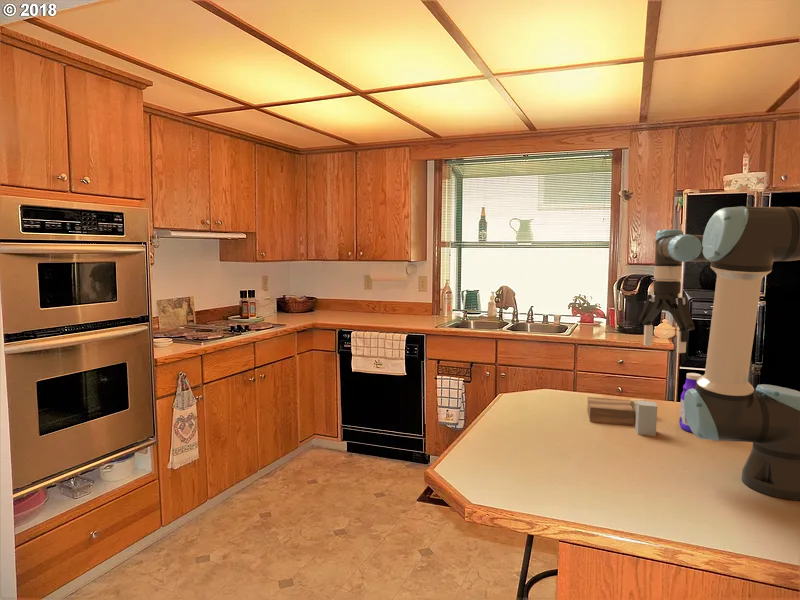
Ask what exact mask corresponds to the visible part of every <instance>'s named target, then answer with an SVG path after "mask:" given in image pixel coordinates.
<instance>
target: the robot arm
mask: <svg viewBox="0 0 800 600" xmlns="http://www.w3.org/2000/svg"><path fill="white" fill-rule="evenodd" d="M654 245H655V250H654V251H655V252H654V269H653V278H654V281H653V289H652V290H653V293H655V294H647V295H646V301H645V304H644V305H643V308H642V311H641V313H640V315H639V318H638V322H639V323H641V324H642V325H643V329H642V330H643V331H642V334H643V346H647V347H649V346H653V336H654V335H653V333H654V325H653V322H654V320H655V319H656V318H657V317H658V316H659V314H660V312H661V311H664V312H668V313H670V315H671V316H672V318H673V319H674V321H675V324H676V325H677V327H678V328H679V329H678V330H677V333H676V334H677V337H676V339H677V340H676V353H677V354H684V353H685V354H686V352H687V343H688V341H689V332H690V331H694V330H695V329H696V327H695V324H694V321H693V318H692V315H691V312H690V308H689V305H688V297H679V294H680V293H681V289H682V286H681V285H682V282H681V281H680V280H681V279H682V266H683V265H682V264H683V263H687V262H705V263H706V262H710V265H709V267H710V269H711V270H712V271H714V273H716V279H715V280H716V281H715V288H714V289H715V290H714V296H713V297H714V298H713V305H712V314H711V322H710V328H709V339H708V344H707V345H708V346H707V355H706V362H705V363H706V364H705V370H704V374H702V375H701V377H699V378H698V379H697V382H696V389H694V388H692V389H689V390H687V391H686V393H685V397H684V408H685V414H686V418H687V422H688V425H689V427H690V429H691V431H692V432H691V433H692V434H693V435H694V436H695V437H697V438H698V439H699V440H708V441H714V442H719V441H720V442H721V441H722V442H738V443H739V442H741V443H752V448H751V450H750V453H749V455H748V457H747V459H746V461H745V463H744V465H743V467H742V469H741V470H742V471H741V481H742V482H743V484H744V485H746V486H747V487H749V488H751V489H752V490H755V491H756V492H759V493H762V494H765V495H768V496H772V497H776V498H780V499H786V500H791V501H800V391H799V390H796V389H792V388H788V387H782V386H779V385H773V384H765V383H764V384H763V383H762V384H757V386H756V387H755V388H754V387H753V385H752V384H751V383H750V382H749V381H748V380H749V375H750V374H749V373H750V367H751V366H750V365H751V357H752V351H753V345H754V340H755V339H754V338H755V332H756V331H755V330H756V324H757V318H758V312H759V311H758V310H759V303H760V295H761V289H762V281H763V278H764V277H766V276H767V275H768V274H770V273H771V272H772V271H773V264H774V262H793V261H799V260H800V207H797V206H744V205H741V206H732V207H723V208H720V209H718V210H717V211H715V212H714V213H713V215H712V216H711V217H710V218H709V220H708V222H707V223H706V226H705V229H704V232H703V235H702V234H701V235H700V234H689V233H688V234H687V233H686V234H684V231H683V230H682V229H675V228H674V229H670V228H669V229H659V230H657V232H656V235H655V240H654Z"/></svg>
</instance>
